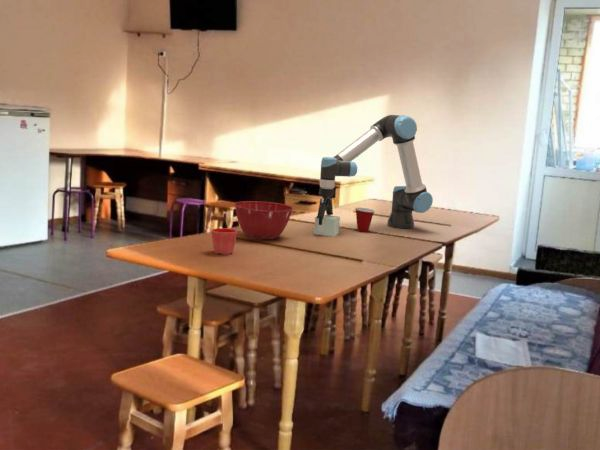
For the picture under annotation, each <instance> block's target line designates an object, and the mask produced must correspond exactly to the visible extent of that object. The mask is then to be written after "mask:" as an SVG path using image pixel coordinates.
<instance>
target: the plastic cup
mask: <svg viewBox="0 0 600 450" xmlns="http://www.w3.org/2000/svg"><path fill="white" fill-rule="evenodd" d="M354 209H355V217H356V218H355V219H356V226H357V227H356V228H357V229H356V230H357V231H358V232H361V233H367V232H369V230H370V227H371V224H372V219H373V217H374V213H375V212H376V210H374V209H371V208H368V207H358V206H357V207H354Z"/></svg>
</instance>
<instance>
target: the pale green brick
mask: <svg viewBox="0 0 600 450" xmlns="http://www.w3.org/2000/svg"><path fill="white" fill-rule="evenodd" d="M340 219H341V217H340V216H339V215H338V216H336V215H331V216H330V215H327V214H324V226H323V232H322V231H318V218H317V216H315V217H314V227H313V228H314V231H313V232H314V233H313V234H314V235H318V236H327V237H335V236H337V235H339V233H340V232H339V231H340V223H341V220H340Z"/></svg>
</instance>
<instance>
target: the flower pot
mask: <svg viewBox="0 0 600 450" xmlns="http://www.w3.org/2000/svg"><path fill="white" fill-rule="evenodd" d="M210 232H211V239H212V245H213V250H214V251H213V252H214V253H215V252H216V253H215V254H217V253H221V254H220V255H231V254H230V253H232V254H233V252H234V249H235V245H236V241H237V240H236V239H237V236H238V230H237V229H233V228H226V227H225V228H224V227H222V228H220V227H218V228H212V229H211V230H210Z"/></svg>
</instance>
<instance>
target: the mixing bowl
mask: <svg viewBox="0 0 600 450" xmlns="http://www.w3.org/2000/svg"><path fill="white" fill-rule="evenodd" d="M233 204H234V209H235V214H236V218H237V221H238V224H239V228H240V229H241V230H242V232H243V233H244V234H245V235H246V236H247V237H248V238H250V237H251V238H250V239H254V238H256V239H255V240H263V239H269V240H274V238H275V239H276V238H278V237H279V236H280V235H281V234H282V233H283V231H284V230H285V228H286V227H287V226H288V222H289V221H290V219H291V215H292V211H293V209H294V207H293V206H291V205H290V204H289V205H288V204H284V203H278V202H270V201H255V200H253V201H252V200H249V201H248V200H246V201H243V200H242V201H237V202H234V203H233Z"/></svg>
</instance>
